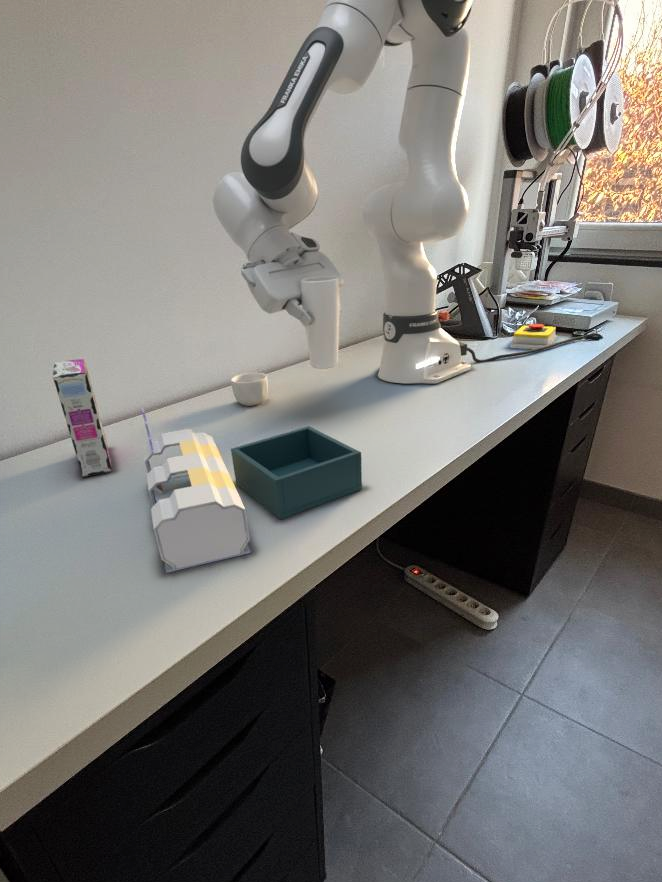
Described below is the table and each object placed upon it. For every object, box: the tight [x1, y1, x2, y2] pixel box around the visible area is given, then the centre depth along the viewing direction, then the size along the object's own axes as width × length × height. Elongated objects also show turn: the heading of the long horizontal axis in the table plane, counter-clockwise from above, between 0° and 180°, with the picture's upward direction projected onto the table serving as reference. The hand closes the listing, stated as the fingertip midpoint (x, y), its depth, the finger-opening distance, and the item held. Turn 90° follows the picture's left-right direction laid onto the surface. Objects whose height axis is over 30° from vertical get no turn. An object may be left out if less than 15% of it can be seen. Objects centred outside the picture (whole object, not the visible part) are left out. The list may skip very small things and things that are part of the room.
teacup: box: [230, 372, 269, 407], centre depth 113 cm, size 10×8×5 cm
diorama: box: [141, 407, 251, 574], centre depth 69 cm, size 25×10×13 cm, turn 19°
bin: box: [230, 425, 363, 521], centre depth 77 cm, size 14×14×6 cm
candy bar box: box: [52, 358, 113, 478], centre depth 86 cm, size 11×5×16 cm, turn 23°
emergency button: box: [509, 323, 557, 350], centre depth 144 cm, size 9×4×15 cm
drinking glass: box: [300, 276, 341, 370], centre depth 95 cm, size 7×7×15 cm
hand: (324, 318), depth 94 cm, fingers closed on drinking glass, 6 cm apart
